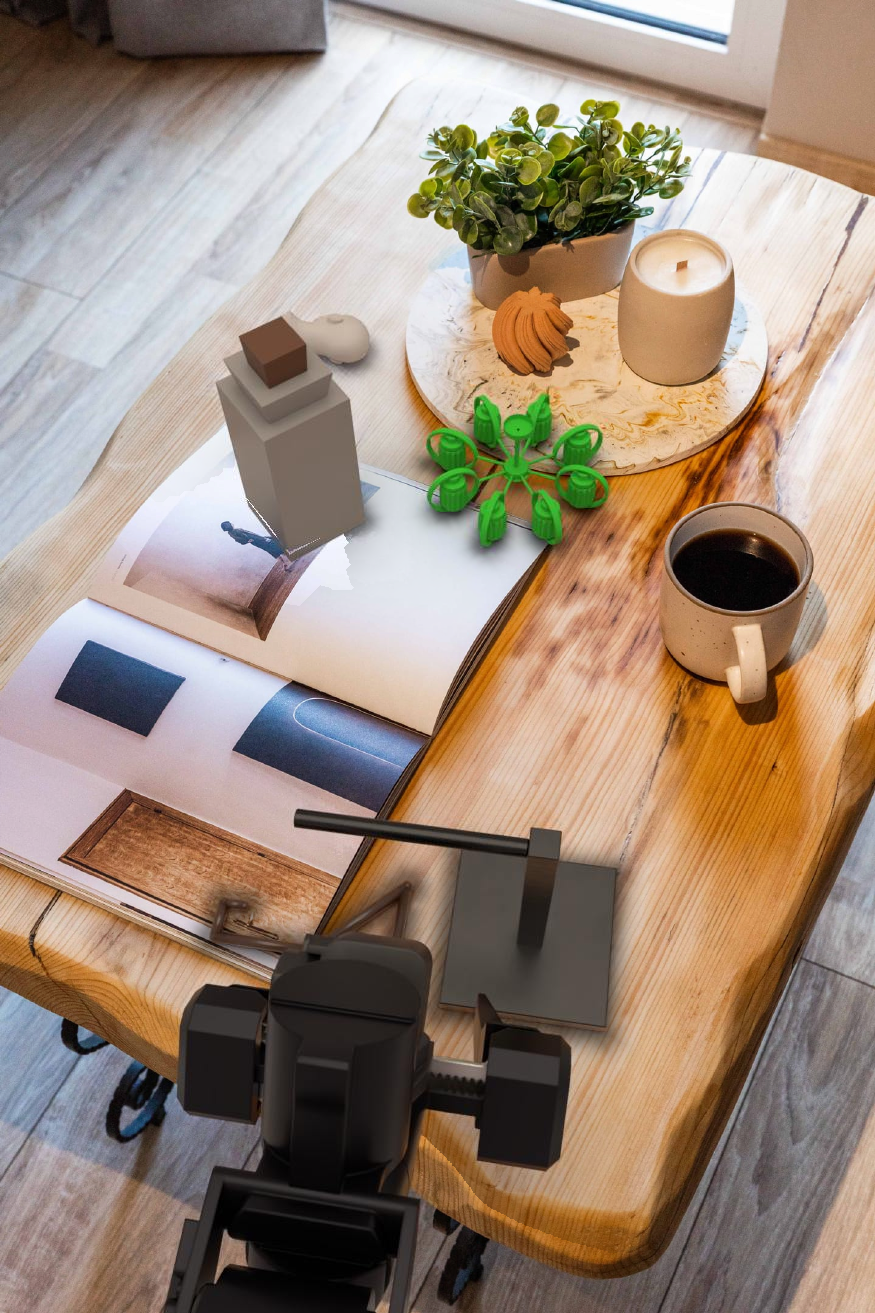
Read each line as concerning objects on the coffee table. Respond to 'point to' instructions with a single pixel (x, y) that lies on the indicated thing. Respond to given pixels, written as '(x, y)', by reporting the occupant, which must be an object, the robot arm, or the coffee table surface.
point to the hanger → (397, 893)
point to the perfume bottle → (292, 439)
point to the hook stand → (514, 921)
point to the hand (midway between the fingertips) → (399, 989)
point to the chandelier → (516, 468)
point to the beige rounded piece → (333, 336)
